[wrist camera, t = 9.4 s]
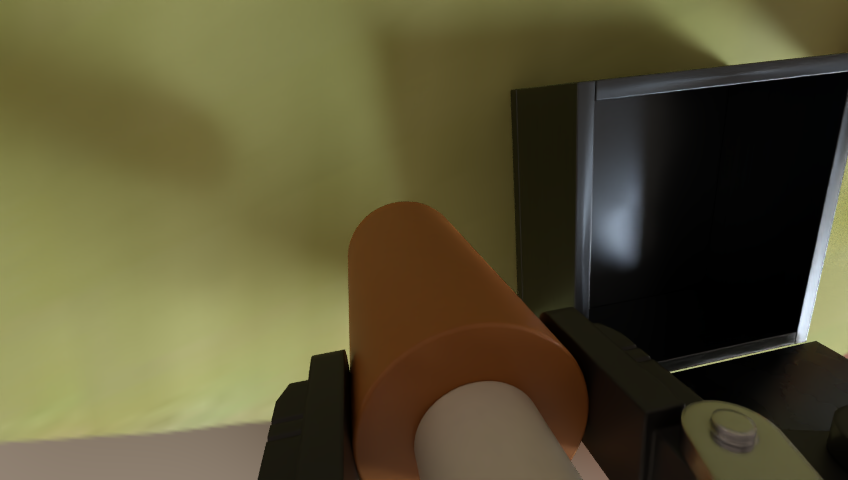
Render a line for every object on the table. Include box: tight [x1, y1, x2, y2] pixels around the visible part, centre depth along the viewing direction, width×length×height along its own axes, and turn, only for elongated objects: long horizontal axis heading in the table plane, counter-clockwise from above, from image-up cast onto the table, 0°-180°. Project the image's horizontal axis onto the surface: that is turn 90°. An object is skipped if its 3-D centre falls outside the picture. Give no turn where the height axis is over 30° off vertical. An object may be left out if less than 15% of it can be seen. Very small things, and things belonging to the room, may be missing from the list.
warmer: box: [511, 53, 848, 372], centre depth 26 cm, size 17×16×8 cm
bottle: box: [348, 201, 589, 480], centre depth 11 cm, size 5×5×12 cm
